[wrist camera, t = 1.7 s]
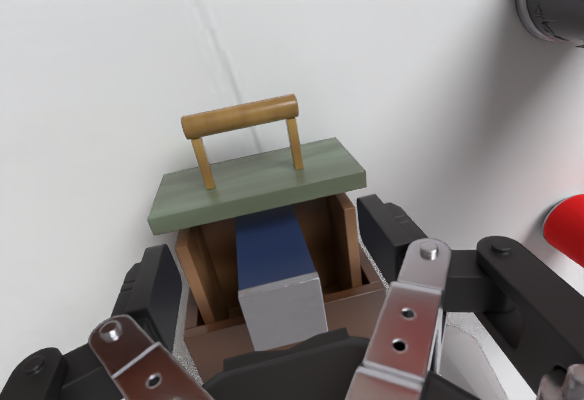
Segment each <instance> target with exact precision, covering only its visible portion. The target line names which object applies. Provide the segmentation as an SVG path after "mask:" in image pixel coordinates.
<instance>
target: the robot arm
mask: <svg viewBox="0 0 584 400" xmlns="http://www.w3.org/2000/svg"><path fill="white" fill-rule="evenodd" d="M516 5H517V10H518V14H519V16H520V19H521V21H522V23H523V25H524V26H525V27H526V29H527V30H528V31H529V32H530V33H532V34H533V35H534V36H536V37H538V38H540V39H543V40H547V41H559V42H567V41H578V42H584V0H516ZM577 47H581V48H584V45H581V46H577ZM357 211H358V221H359V230H360V235H361V238H362V241H363V243H364V245H365V247H366V248H367V250H368V252H369V253H370V255H371V257H372V258H373V260H374V262H375V263H376V265H377V266H378V268H379V270H380V271H381V273H382V275H383V276H384V278H385V280H386V281H387V283H388V285H389V288H388V291H387V294H386V297H385V300H384V303H383V305H382V308H381V311H380V314H379V317H378V320H377V322H376V325H375V328H374V331H373V334H372V336H371V339H370V338H365V337H357V336H349V335H348V332H347V329H346V327H344V328H340V329H336V330H333V331H329V332H325V333H321V334H317V335H315V336H313V337H311V338H309V339H307V340H305V341H303V342H301V343H299V344H297V345H295V346H293V347H291V348H290V349H287V350H274V351H253V352H249V353H245V354H242V355H238V356H234V357H230V358H227V359H223V371H221V372H219V373H217V374H216V375H214V376H213V377H211V378H210V379H209V380H208V381H206V382H205V383H204V384H203V385H202V386H201V385H200V384H199V383H198V382H197V381H196V380H195V378H194V377H193V376H192V375H191V374H190V373H189V372H188V371H187V370H186V369H185V368H184V367H183V366H182V365H181V364H180V363H179V362H178V361H177V360H176V358H175V357H174V356H173V355H172V350H173V344H174V337H175V330H176V324H177V317H178V311H179V304H180V297H181V291H182V281H181V277H180V273H179V271H178V269H177V266H176V264H175V262H174V259H173V257H172V254H171V252H170V250H169V248H168V246H167V245H166V244H162V245H158V246H154V247H150V248H146V250H145V252H144V255H143V258H142V261H141V262H140V263H136V264H135V265H134V266H133V267H132V268H131V269H130V270H129V271H128V273H127V274H126V277H125V280H124V282H123V284H124V285H122V288H121V290H120V291H121V293H119V296H118V298H117V301H116V304H115V306H114V309H113V312H112V314H111V317H110V318H108V319H106V320H105V321H103V322H102V323H100V324H99V325H98V326H97V327H96V328H95V329H94V330H93V331H92V333H91V335H90V337H89V340H88V343H87V344H85V345H83V346H81V347H79V348H77V349H75V350H73V351H71V352H69V353H67V354H65V355H62V353H61V352H60V351H59V350H58V349H57V348H53V347H50V348H44V349H41V350H39V351H37V352H35V353H33V354H31V355H30V356H28V357H27V358H25V359H24V360H23V361H22V362H21V363H20V364H19V365H18V366H17V367H16V368H15V369H14V370H13V372H12V374H11V375H10V377H9V379H8V381H7V383H6V385H5V387H4V388H3V390H2V392H1V394H0V400H121V399H122V398H125V400H482V399H480V398H478V397H476V396H475V395H473V394H471V393H469V392H468V391H466V390H464V389H462V388H461V387H459V386H457V385H455V384H454V383H452V382H450V381H448V380H447V379H445V378H443V377H442V376H440V375H439V371H440V361H441V353H442V347H443V341H444V334H445V328H446V322H447V316H448V312H473V313H474V314H475V315H476V317H477V318H478V319H479V321H480V322H481V323H482V325H483V326H484V327H485V329H486V330H487V331H488V333H489V334H490V335H491V336H492V338H493V339H494V340H495V342H496V343H497V344H498V346H499V347H500V348H501V350H502V351H503V352H504V354H505V355H506V356H507V358H508V359H509V360H510V361H511V363H512V364H513V365H514V367H515V368H516V369H517V371H518V372H519V373H520V375H521V376H522V377H523V379H524V380H525V381H526V382H527V384H528V385H529V386H530V388H531V389H532V390H533V392H534V393H535V394H536V396H537V398H536V400H584V297H583V296H582V295H581V294H580V293H578V292H577V291H576V290H575V289H574V288H573V287H571V286H570V285H569V284H568V283H567V282H565V281H564V280H563V279H562V278H561V277H559V276H558V275H557V274H556V273H555V272H554V271H552V270H551V269H550V268H549V267H548V266H546V265H545V264H544V263H543V262H542V261H540V260H539V259H538V258H537V257H536V256H535V255H533V254H532V253H531V252H530V251H529V250H527V249H526V248H525V247H524V246H523V245H522V244H520V243H519V242H517V241H515V240H513V239H511V238H507V237H502V236H490V237H485V238H483V239H481V240H480V241H479V242H478V243H477V249H476V250H451V249H450V247H449V246H448V245H447V244H446V243H444V242H442V241H440V240H437V239H431V238H428V237H427V236H426V235H425V234H424V232H423V231H422V230H421V229H420V228H419V227H418V226H417V225H416V224H415V223H414V221H412V219H411V218H410V217H409V216H408V215H407V214H406V213H405V212H404V211H403V209H402V208H401V207H399V206H397V205H395V204H393V203H386V204H383V202H382V201H381V200H380V199H379V198H378V197H377V195H376V194H373V195H368V196H364V197H360V198H357Z"/></svg>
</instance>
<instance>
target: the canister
mask: <svg viewBox="0 0 584 400" xmlns="http://www.w3.org/2000/svg"><path fill="white" fill-rule="evenodd" d="M235 230H236V248H237V267H238V285H239V291H238V299H239V302H240V306H241V309H242V312H243V315H244V318H245V321H246V324H247V327H248V330H249V334H250V337H251V340H252V343H253V346H254V349H255V351H265V350H269V349H273V348H277V347H281V346H285V345H289V344H293V343H297V342H300V341H304V340H307V339H309V338H311V337H313V336H315V335H317V334H321V333H325V332H328V327H327V321H326V315H325V309H324V303H323V296H322V290H321V284H320V278H319V275H318V273H317V272H316V270H315V267H314V264H313V262H312V259H311V256H310V253H309V250H308V248H307V245H306V242H305V239H304V236H303V234H302V231H301V228H300V225H299V222H298V220H297V217H296V214H295V211H294V208H293V206H292V204H290V205H286V206H282V207H277V208H273V209H269V210H264V211H260V212H255V213H251V214H247V215H242V216H238V217H235Z"/></svg>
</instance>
